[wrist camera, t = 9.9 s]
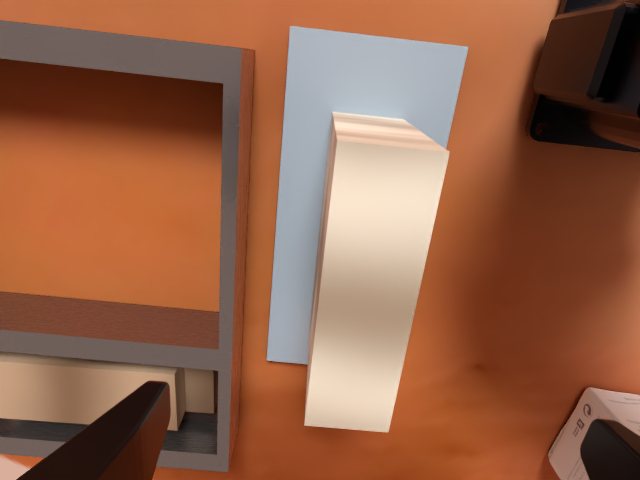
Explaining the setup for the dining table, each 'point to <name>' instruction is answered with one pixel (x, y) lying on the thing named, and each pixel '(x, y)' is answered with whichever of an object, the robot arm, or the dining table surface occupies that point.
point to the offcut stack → (93, 387)
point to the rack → (141, 320)
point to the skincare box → (593, 404)
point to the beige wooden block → (369, 267)
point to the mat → (313, 141)
